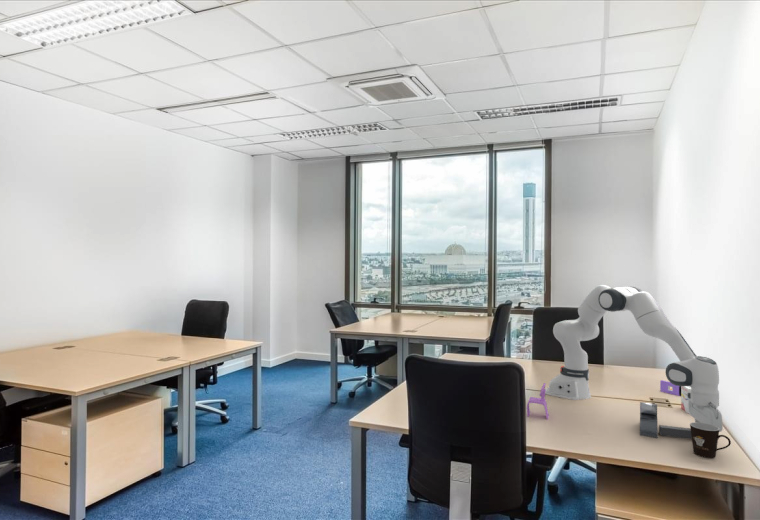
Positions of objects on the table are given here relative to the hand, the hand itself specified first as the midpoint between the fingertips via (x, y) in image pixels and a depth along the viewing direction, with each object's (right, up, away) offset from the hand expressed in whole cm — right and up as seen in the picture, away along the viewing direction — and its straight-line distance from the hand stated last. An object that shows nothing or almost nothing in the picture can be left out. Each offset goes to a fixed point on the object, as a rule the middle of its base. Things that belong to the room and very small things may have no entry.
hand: (705, 434), depth 178 cm
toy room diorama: (+30, -3, +63) cm, 70 cm away
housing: (-16, -2, +10) cm, 19 cm away
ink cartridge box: (+17, -2, +33) cm, 37 cm away
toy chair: (-56, -2, +26) cm, 62 cm away
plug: (-7, -2, +2) cm, 7 cm away
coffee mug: (-10, -2, -16) cm, 19 cm away
